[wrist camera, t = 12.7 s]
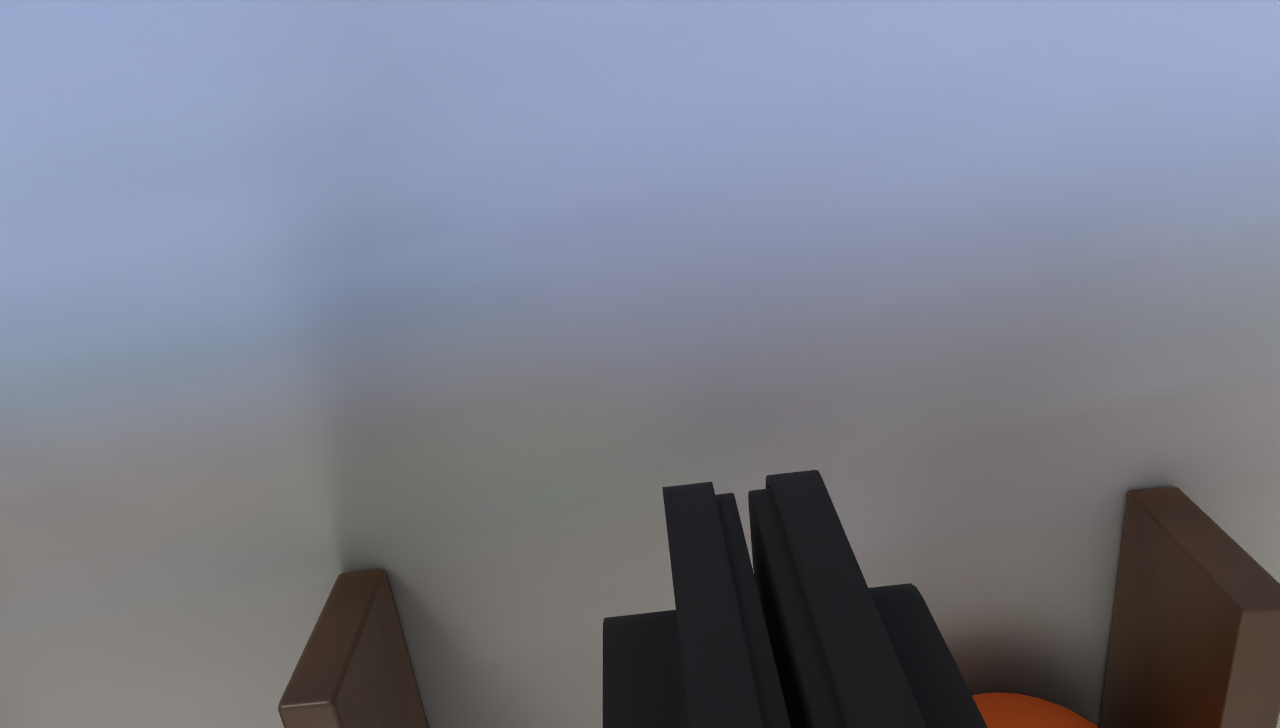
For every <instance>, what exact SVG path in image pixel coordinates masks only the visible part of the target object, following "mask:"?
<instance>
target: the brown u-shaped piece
mask: <svg viewBox="0 0 1280 728" xmlns="http://www.w3.org/2000/svg"><path fill="white" fill-rule="evenodd" d="M278 711H279V714H280V717H281V719H282V722H283V725H284V728H428V727H427V723H426V720H425V716H424V712H423V708H422V705H421V701H420V697H419V694H418V690H417V686H416V683H415V679H414V675H413V671H412V668H411V664H410V660H409V657H408V653H407V649H406V646H405V642H404V638H403V634H402V631H401V627H400V623H399V620H398V616H397V612H396V609H395V605H394V601H393V597H392V594H391V590H390V586H389V583H388V579H387V575H386V572H385V570H383V569H376V570H367V571H357V572H347V573H342V574H340V575H339V576H338V578H337V580H336V582H335V584H334V586H333V588H332V591H331V593H330V595H329V597H328V599H327V601H326V604H325V606H324V608H323V610H322V612H321V614H320V616H319V619H318V621H317V623H316V625H315V627H314V629H313V632H312V634H311V636H310V638H309V640H308V642H307V644H306V647H305V649H304V651H303V653H302V655H301V657H300V659H299V662H298V664H297V666H296V668H295V670H294V672H293V675H292V677H291V679H290V681H289V683H288V685H287V687H286V690H285V692H284V694H283V696H282V698H281V700H280V703H279V706H278ZM1279 713H1280V584H1279V583H1278V582H1277V581H1276V580H1275V579H1274V578H1273V577H1272V576H1271V575H1270V574H1269V573H1268V572H1267V571H1266V570H1265V569H1264V568H1263V567H1261V566H1260V565H1259V564H1258V563H1257V562H1256V561H1255V560H1254V559H1253V558H1252V557H1251V556H1250V555H1249V554H1248V553H1247V552H1246V551H1245V550H1243V549H1242V548H1241V547H1240V546H1239V545H1238V544H1237V543H1236V542H1235V541H1234V540H1233V539H1232V538H1231V537H1230V536H1229V535H1228V534H1227V533H1225V532H1224V531H1223V530H1222V529H1221V528H1220V527H1219V526H1218V525H1217V524H1216V523H1215V522H1214V521H1213V520H1212V519H1211V518H1210V517H1209V516H1207V515H1206V514H1205V513H1204V512H1203V511H1202V510H1201V509H1200V508H1199V507H1198V506H1197V505H1196V504H1195V503H1194V502H1193V501H1192V500H1191V499H1189V498H1188V497H1187V496H1186V495H1185V494H1184V493H1183V492H1182V491H1181V490H1180V489H1179V488H1178V487H1166V488H1156V489H1146V490H1137V491H1130V492H1128V496H1127V504H1126V513H1125V521H1124V529H1123V537H1122V546H1121V554H1120V562H1119V571H1118V579H1117V587H1116V595H1115V604H1114V612H1113V620H1112V629H1111V637H1110V645H1109V654H1108V662H1107V670H1106V678H1105V687H1104V695H1103V703H1102V712H1101V720H1100V728H1276V726H1277V721H1278V717H1279Z"/></svg>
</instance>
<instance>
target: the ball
mask: <svg viewBox="0 0 1280 728" xmlns="http://www.w3.org/2000/svg"><path fill="white" fill-rule="evenodd" d="M972 697H973V699H974V701H975V703H976V705H977V707H978V709H979V711H980V713H981V715H982V717H983V719H984V721H985V723H986V725H987V727H988V728H1099V727H1098V726H1096V725H1095V724H1094V723H1092V722H1090V721H1089V720H1087V719H1085V718H1084V717H1082V716H1080V715H1079V714H1077V713H1075V712H1074V711H1072V710H1069V709H1067V708H1065V707H1063V706H1061V705H1058V704H1055V703H1052V702H1049V701H1046V700H1043V699H1040V698H1036V697H1033V696H1028V695H1022V694H1015V693H983V694H976V695H972Z"/></svg>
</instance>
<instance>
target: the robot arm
mask: <svg viewBox="0 0 1280 728" xmlns="http://www.w3.org/2000/svg"><path fill="white" fill-rule="evenodd" d="M663 496H664V505H665V514H666V523H667V532H668V541H669V550H670V559H671V568H672V577H673V586H674V595H675V604H676V610H671V611H662V612H653V613H644V614H635V615H626V616H617V617H609V618H604V622H603V728H988V727H987V725H986V723H985V721H984V719H983V717H982V715H981V713H980V711H979V709H978V707H977V705H976V703H975V701H974V699H973V697H972V695H971V693H970V691H969V689H968V687H967V685H966V683H965V681H964V679H963V677H962V675H961V673H960V671H959V669H958V667H957V665H956V663H955V661H954V659H953V657H952V655H951V653H950V651H949V649H948V647H947V645H946V643H945V641H944V639H943V637H942V635H941V633H940V631H939V629H938V627H937V625H936V623H935V621H934V619H933V617H932V615H931V613H930V611H929V609H928V607H927V605H926V603H925V601H924V599H923V597H922V595H921V594H920V592H919V591H918V589H917V588H916V587H915V586H914V585H912V584H911V583H910V584H901V585H892V586H883V587H874V588H868V586H867V584H866V582H865V579H864V577H863V574H862V572H861V570H860V567H859V565H858V563H857V560H856V558H855V555H854V553H853V551H852V548H851V546H850V544H849V541H848V539H847V536H846V534H845V532H844V529H843V527H842V525H841V522H840V520H839V517H838V515H837V513H836V510H835V508H834V506H833V503H832V501H831V498H830V496H829V494H828V491H827V489H826V487H825V484H824V482H823V479H822V477H821V475H820V473H819V471H818V470H810V471H802V472H793V473H784V474H775V475H767V477H766V489H762V490H753V491H749V494H748V499H749V515H750V528H751V542H752V556H753V569H754V574H753V570H752V566H751V562H750V558H749V553H748V549H747V545H746V541H745V537H744V533H743V529H742V525H741V521H740V517H739V512H738V508H737V504H736V500H735V496H734V493H727V494H718V495H715V492H714V488H713V484H712V482H705V483H697V484H688V485H679V486H670V487H663Z"/></svg>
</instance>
